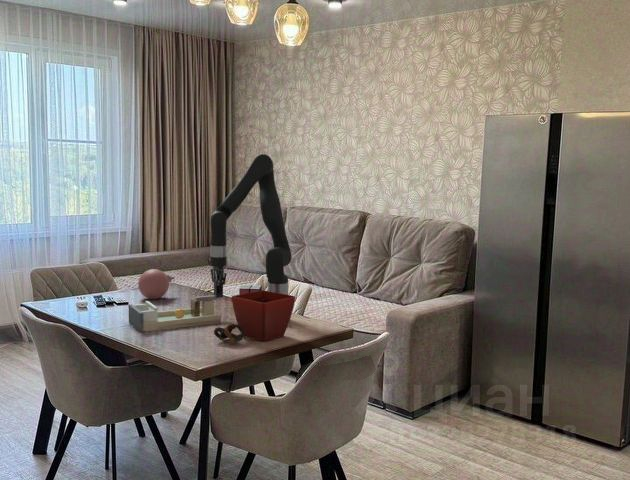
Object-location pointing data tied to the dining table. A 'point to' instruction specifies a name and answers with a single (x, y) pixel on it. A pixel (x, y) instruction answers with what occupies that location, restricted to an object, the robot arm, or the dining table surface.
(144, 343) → the dining table surface
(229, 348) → the dining table surface
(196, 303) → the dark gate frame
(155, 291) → the balloon
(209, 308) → the tray with compartments
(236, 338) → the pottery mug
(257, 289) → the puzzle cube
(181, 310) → the ball
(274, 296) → the plant pot
